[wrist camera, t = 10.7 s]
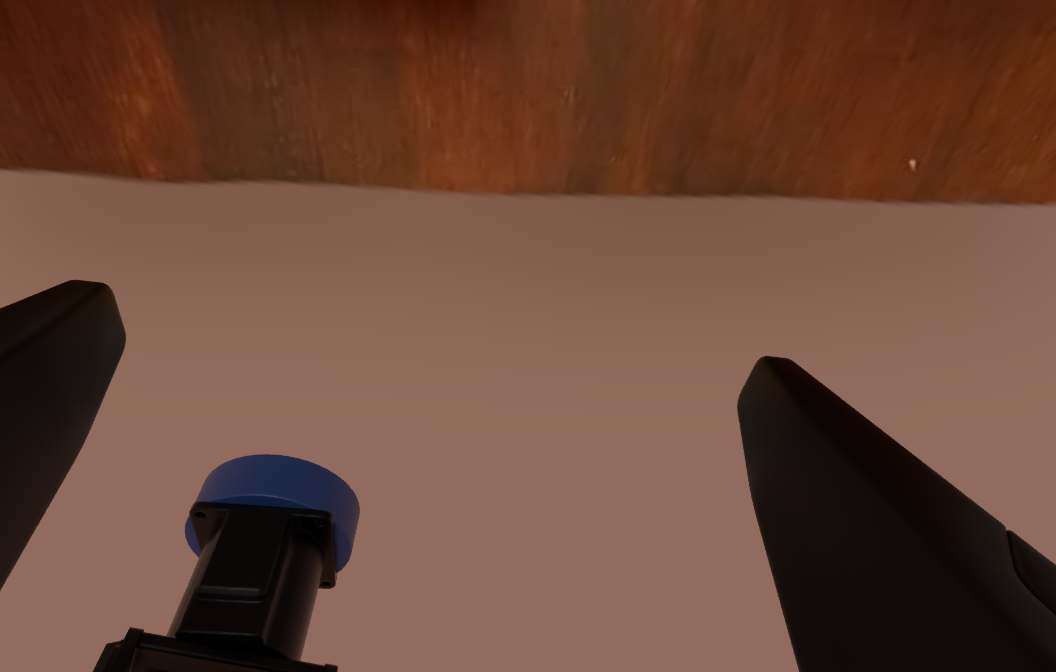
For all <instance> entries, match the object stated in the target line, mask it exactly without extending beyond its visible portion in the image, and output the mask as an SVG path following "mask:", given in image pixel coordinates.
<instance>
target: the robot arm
mask: <svg viewBox="0 0 1056 672" xmlns="http://www.w3.org/2000/svg"><path fill="white" fill-rule="evenodd" d="M125 342H126V334H125V329H124V326H123V323H122V319H121V316H120V313H119V310H118V307H117V303H116V300H115V296H114V294H113V292H112V290H111V288H110V287H109V286H108V285H106V284H104V283H100V282H91V281H83V280H70V281H67V282H65V283H62V284H60V285H57V286H55V287H52V288H50V289H47V290H45V291H42V292H40V293H37V294H35V295H32V296H30V297H27V298H25V299H23V300H20V301H18V302H16V303H13V304H10V305H8V306H5V307H3V308H0V590H1V588H2V587H3V585H4V583H5V581H6V580H7V578H8V576H9V574H10V573H11V571H12V569H13V567H14V566H15V564H16V562H17V560H18V559H19V557H20V555H21V554H22V552H23V550H24V548H25V547H26V545H27V543H28V541H29V539H30V538H31V536H32V534H33V533H34V531H35V529H36V527H37V526H38V524H39V522H40V520H41V519H42V517H43V515H44V514H45V512H46V510H47V508H48V507H49V505H50V503H51V501H52V500H53V498H54V496H55V494H56V493H57V491H58V489H59V487H60V486H61V484H62V482H63V480H64V479H65V477H66V475H67V473H68V472H69V470H70V468H71V466H72V465H73V463H74V461H75V459H76V458H77V456H78V454H79V452H80V450H81V448H82V446H83V444H84V442H85V440H86V438H87V436H88V433H89V431H90V429H91V427H92V424H93V422H94V420H95V417H96V415H97V412H98V410H99V408H100V405H101V403H102V401H103V398H104V396H105V393H106V391H107V389H108V386H109V384H110V382H111V379H112V377H113V374H114V372H115V370H116V368H117V365H118V363H119V360H120V358H121V356H122V353H123V350H124V348H125ZM737 409H738V417H739V423H740V430H741V436H742V442H743V449H744V455H745V461H746V468H747V474H748V480H749V487H750V492H751V497H752V501H753V506H754V510H755V514H756V517H757V521H758V525H759V528H760V532H761V535H762V539H763V543H764V546H765V550H766V553H767V557H768V561H769V564H770V567H771V571H772V575H773V579H774V582H775V586H776V589H777V593H778V597H779V600H780V604H781V608H782V611H783V615H784V618H785V622H786V625H787V629H788V633H789V636H790V640H791V644H792V647H793V651H794V654H795V658H796V661H797V665H798V669H799V672H1056V565H1055V564H1054V563H1053V562H1051V561H1050V560H1049V559H1047V558H1046V557H1045V556H1043V555H1042V554H1041V553H1039V552H1038V551H1037V550H1035V549H1034V548H1033V547H1032V546H1030V545H1029V544H1028V543H1027V542H1025V541H1024V540H1022V539H1021V538H1020V537H1019V536H1017V535H1016V534H1015V533H1014V532H1012V531H1009V530H1008V531H1006V528H1005V526H1004V525H1003V524H1002V523H1001V522H999V521H998V520H997V519H996V518H994V517H993V516H992V515H990V514H989V513H988V512H986V511H985V510H984V509H983V508H981V507H980V506H979V505H977V504H976V503H975V502H974V501H972V500H971V499H970V498H968V497H967V496H965V494H963V493H962V492H961V491H959V490H958V489H957V488H955V487H954V486H953V485H952V484H950V483H949V482H948V481H947V480H945V479H944V478H943V477H941V476H940V475H939V474H937V473H936V472H935V471H934V470H932V469H931V468H930V467H928V466H927V465H926V464H925V463H923V462H922V461H921V460H919V459H918V458H917V457H916V456H914V455H913V454H912V453H911V452H909V451H908V450H906V449H905V448H904V447H903V446H901V445H900V444H899V443H898V442H896V441H895V440H894V439H893V438H891V437H890V436H888V435H887V434H886V433H885V432H883V431H882V430H881V429H880V428H878V427H877V426H876V425H874V424H873V423H872V422H871V421H869V420H868V419H867V418H865V417H864V416H863V415H862V414H860V413H859V412H858V411H856V410H855V409H854V408H853V407H851V406H850V405H849V404H847V403H846V402H845V401H844V400H842V399H841V398H840V397H838V396H837V395H836V394H835V393H833V392H832V391H831V390H829V389H828V388H827V387H826V386H824V385H823V384H822V383H820V382H819V381H818V380H816V379H815V378H814V377H813V376H811V375H810V374H809V373H808V372H806V371H805V370H804V369H802V368H801V367H800V366H799V365H797V364H796V363H795V362H793V361H792V360H790V359H787V358H780V357H771V356H764V357H761V358H760V359H759V360H758V361H757V362H756V364H755V366H754V368H753V370H752V372H751V374H750V376H749V377H748V379H747V381H746V383H745V385H744V387H743V389H742V391H741V393H740V395H739V399H738V405H737ZM189 514H190V518H191V521H192V525H193V528H194V532H195V535H196V538H197V542H198V545H199V549H200V552H201V555H200V557H199V560H198V562H197V564H196V567H195V569H194V572H193V574H192V576H191V579H190V581H189V583H188V586H187V588H186V591H185V593H184V595H183V598H182V600H181V602H180V605H179V607H178V609H177V612H176V614H175V617H174V619H173V621H172V624H171V626H170V628H169V631H168V633H167V635H166V636H162V635H156V634H151V633H145V632H144V630H143V629H137V628H132V627H130V629H129V630H128V632H127V634H126V636H125V638H124V640H121V641H118V642H113V643H108V644H106V646H105V648H104V650H103V652H102V654H101V656H100V658H99V660H98V662H97V664H96V666H95V668H94V670H93V672H337V669H338V666H336V665H331V664H325V665H318V664H313V663H307V662H302V661H300V659H301V656H302V652H303V648H304V643H305V639H306V636H307V631H308V628H309V624H310V619H311V615H312V611H313V607H314V603H315V599H316V595H317V591H318V588H323V589H330V588H333V587H334V586H335V584H336V580H337V569H336V551H335V532H334V517H333V514H332V513H330V512H328V511H325V510H316V509H302V508H288V507H274V506H260V505H246V504H232V503H218V502H204V501H199V502H195V503H194V504H193V506H192V508H191V510H190V513H189Z"/></svg>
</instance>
